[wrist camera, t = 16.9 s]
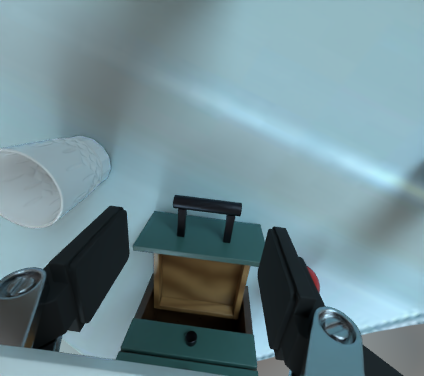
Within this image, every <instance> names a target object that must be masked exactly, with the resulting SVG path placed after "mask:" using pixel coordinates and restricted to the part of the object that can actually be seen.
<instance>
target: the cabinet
mask: <svg viewBox="0 0 424 376" xmlns="http://www.w3.org/2000/svg"><path fill="white" fill-rule="evenodd" d="M116 360H121V361H128V362H135V363H142V364H149V365H156V366H163V367H170V368H177V369H184V370H191V371H198V372H205V373H212V374H218V375H225V376H258V371H257V360H256V351H255V342H254V335H253V330H252V320H251V311H250V302H249V292H248V286H245V290H244V294H243V299H242V303H241V307H240V312H239V316H238V319H233V318H232V319H230V318H223V317H215V316H208V315H201V314H194V313H186V312H179V311H172V310H164V309H156V308H154V273H153V275H152V277H151V279H150V282H149V284H148V286H147V289H146V291H145V294H144V296H143V298H142V301H141V303H140V305H139V308H138V310H137V313H136V315H135V317H134V318H133V320H132V322H131V324H130V327H129V329H128V332H127V334H126V336H125V339H124V341H123V343H122V346H121V351H119V353H118V355H117V357H116Z"/></svg>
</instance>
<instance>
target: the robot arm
mask: <svg viewBox="0 0 424 376" xmlns="http://www.w3.org/2000/svg"><path fill="white" fill-rule="evenodd" d="M128 258H129V239H128V223H127V212H126V211H125V210H124V209H123V208H122V207H117V206H109V207H108V208H107V209H106V210H105V211H104V212H103V213H102V214H101V215H99V216H98V217H97V218H96V219H95V220H94V221H93V222H92V223H91V224H90V225H89V226H88V227H87V228H85V229H84V230H83V231H82V232H81V233H80V234H79V235H78V236H77V237H76V238H75V239H74V240H73V241H72V242H70V243H69V244H68V245H67V246H66V247H65V248H64V249H63V250H62V251H61V252H60V253H59V254H58V255H57V256H55V257H54V258H53V259H52V260H51V261H50V262H49V264H48V265H47V266H46V267H45V268H44V269H41V268H36V267H32V268H25V269H21V270H18V271H15V272H13V273H11V274H9V275H7V276H5V277H4V278H2V279H1V280H0V376H225V375H218V374H212V373H205V372H198V371H191V370H184V369H177V368H170V367H163V366H156V365H149V364H142V363H135V362H128V361H121V360H113V359H106V358H99V357H92V356H84V355H76V354H69V353H62V352H59V349H60V344H61V339H62V335H63V334H65V333H66V332H67V330H69V331H76V332H80V331H81V329H82V327H83V326H84V324H85V323H89V322H90V321H91V319H92V317H93V316H94V314H95V313H96V311H97V309H98V308H99V306H100V304H101V303H102V301H103V299H104V298H105V296H106V295H107V293H108V291H109V290H110V288H111V286H112V285H113V283H114V281H115V280H116V278H117V277H118V275H119V273H120V272H121V270H122V268H123V267H124V265H125V263H126V262H127V260H128ZM258 282H259V288H260V294H261V300H262V306H263V312H264V318H265V324H266V330H267V336H268V342H269V347H270V349H274V352H275V358H276V359H277V360H284V362H285V365H286V366H287V367H288V368H289V369H290V371H289V375H288V376H403V375H401V374H400V373H399V372H398V371H397V370H395V369H394V368H393V367H391V366H390V365H389V364H387V363H386V362H385V361H383V360H382V359H381V358H379V357H378V356H377V355H376V354H374V353H373V352H372V351H370V350H369V349H368V348H366V347H365V346H364V345H362V337H361V333H360V331H359V329H358V327H357V326H356V324H355V323H354V322H353V321H352V320H351V319H350V318H349V317H348V316H347V315H345V314H344V313H342V312H341V311H339V310H337V309H334V308H332V307H326V306H325V305H324V303H323V300H322V298H321V296H320V294H319V292H318V290H317V288H316V285H315V283H314V281H313V279H312V277H311V275H310V272H309V270H308V268H307V266H306V264H305V262H304V260H303V258H301V257H298V255H297V253H296V250H295V248H294V246H293V244H292V241H291V239H290V237H289V235H288V232H287V230H286V228H281V227H273V228H272V229H269V230H268V233H267V237H266V241H265V245H264V249H263V253H262V256H261V260H260V264H259V268H258Z"/></svg>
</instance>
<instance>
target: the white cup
mask: <svg viewBox="0 0 424 376" xmlns="http://www.w3.org/2000/svg"><path fill="white" fill-rule="evenodd" d="M110 170H111V165H110V158H109V156H108V154H107V153H106V151H105V149H104V148H103V146H101V145H100V144H99V143H97V142H96V141H95V140H94V139H91V138H88V137H84V136H81V135H80V136H75V137H69V138H57V139H49V140H44V141H38V142H33V143H27V144H21V145H16V146H10V147H4V148H0V215H1V216H2V217H4V218H5V219H7V220H9V221H10V222H12V223H15V224H17V225H20V226H23V227H28V228H44V227H47V226H50V225H52V224H53V223H55V222H56V221H57V220H58V219H60V218H61V217H62V216H63V215H65V214H66V213H67V212H68V211H70V210H71V209H72V208H73V207H74V206H76V205H77V204H78V203H79V202H81V201H82V200H83V199H84V198H85V197H87V196H88V195H89V194H90V193H91V192H92V191H94V190H95V188H96V187H97V186H98V185H99V184H100V183H102V182H103V181H104V180H105V179H107V178H108V175H109V172H110Z"/></svg>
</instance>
